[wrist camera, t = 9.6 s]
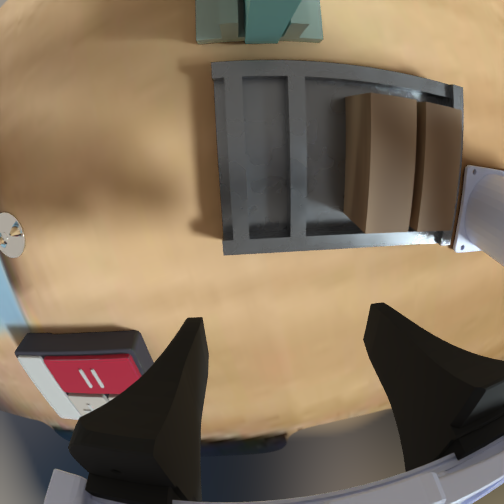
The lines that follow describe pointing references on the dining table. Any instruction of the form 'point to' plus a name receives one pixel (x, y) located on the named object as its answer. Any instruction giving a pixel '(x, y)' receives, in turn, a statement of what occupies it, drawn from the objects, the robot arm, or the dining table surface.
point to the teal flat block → (267, 19)
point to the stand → (232, 22)
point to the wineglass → (11, 236)
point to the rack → (300, 152)
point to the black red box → (83, 367)
